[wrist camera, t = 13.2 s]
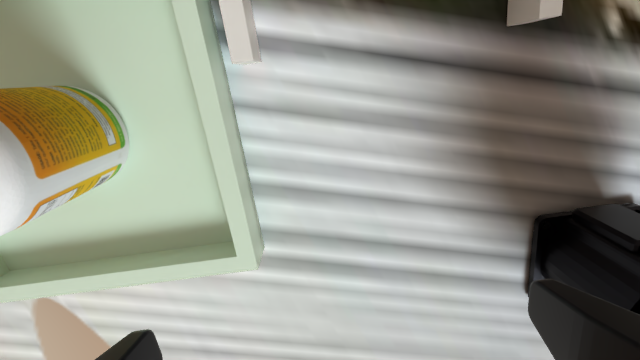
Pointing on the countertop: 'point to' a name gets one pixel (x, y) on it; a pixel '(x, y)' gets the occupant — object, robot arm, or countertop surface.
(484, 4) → the countertop surface
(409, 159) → the countertop surface
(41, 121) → the supplement bottle
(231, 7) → the bay
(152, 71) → the tray
